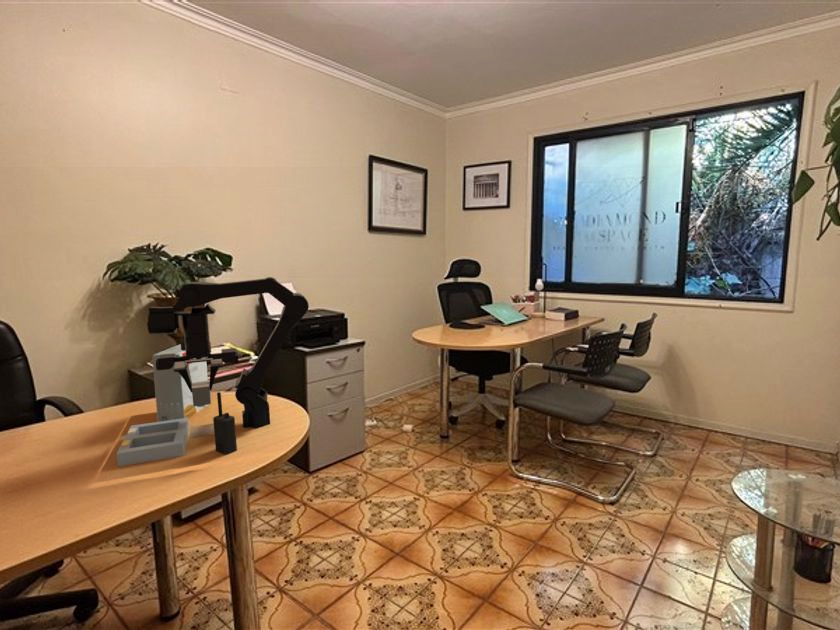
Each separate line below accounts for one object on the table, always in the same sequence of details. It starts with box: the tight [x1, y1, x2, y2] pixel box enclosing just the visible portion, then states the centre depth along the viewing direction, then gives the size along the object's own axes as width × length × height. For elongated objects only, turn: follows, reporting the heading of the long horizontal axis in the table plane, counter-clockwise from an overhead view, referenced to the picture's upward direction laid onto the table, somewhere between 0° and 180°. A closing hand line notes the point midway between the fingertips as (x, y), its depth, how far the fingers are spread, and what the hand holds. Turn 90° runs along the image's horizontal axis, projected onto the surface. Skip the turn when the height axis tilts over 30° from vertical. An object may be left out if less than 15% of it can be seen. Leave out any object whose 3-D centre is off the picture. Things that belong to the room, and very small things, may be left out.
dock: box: [116, 418, 190, 467], centre depth 112 cm, size 13×17×4 cm
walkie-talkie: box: [212, 391, 238, 455], centre depth 108 cm, size 5×3×15 cm
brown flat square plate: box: [189, 423, 215, 439], centre depth 121 cm, size 7×8×1 cm
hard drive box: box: [151, 343, 211, 422], centre depth 132 cm, size 16×8×20 cm, turn 179°
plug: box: [192, 379, 212, 406], centre depth 119 cm, size 4×4×5 cm
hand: (201, 390), depth 119 cm, fingers closed on plug, 4 cm apart
